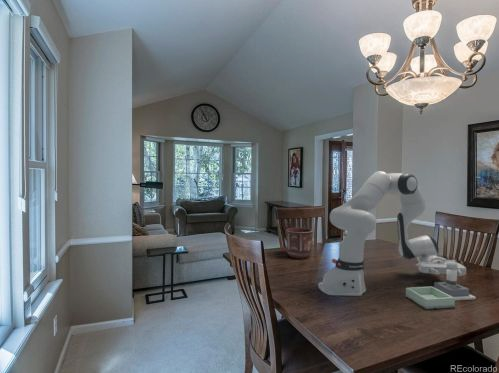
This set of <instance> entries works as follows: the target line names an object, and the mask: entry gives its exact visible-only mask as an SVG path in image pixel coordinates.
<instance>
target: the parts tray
mask: <svg viewBox="0 0 499 373" xmlns="http://www.w3.org/2000/svg"><path fill="white" fill-rule="evenodd" d="M405 297H406V298H407V297H408V299H409V300H410V301H412V300H413V301H412V302H414V303H416V304H417V305H419V306H420V307H422V308H424V309H425V310H434V308H436V309H445V308H446V309H447V308H451V309H452V308H455V304H456V303H455V301H456V300H455V298H454V297H452V296H450V295H448V294H446V293H444V292H442V291H440V290H438V289H436V288H434V286H432V285H431V286H416V287H414V286H412V287H405Z"/></svg>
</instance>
